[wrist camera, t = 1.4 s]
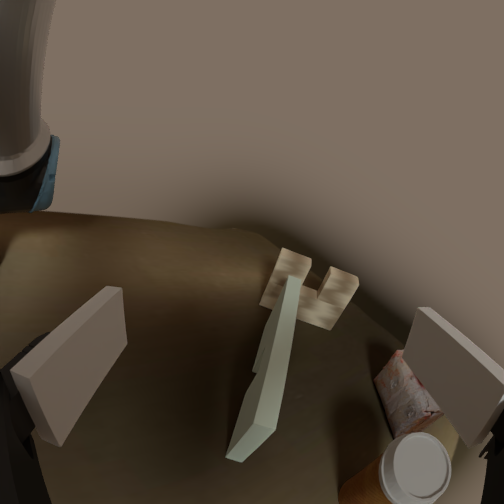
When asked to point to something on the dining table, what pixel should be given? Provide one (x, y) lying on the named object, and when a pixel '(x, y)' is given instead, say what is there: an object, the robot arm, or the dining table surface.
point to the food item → (405, 398)
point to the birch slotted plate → (311, 290)
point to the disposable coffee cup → (402, 474)
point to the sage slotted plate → (267, 376)
